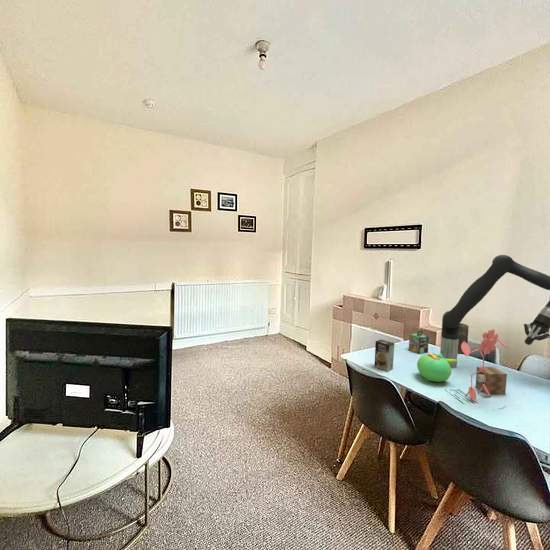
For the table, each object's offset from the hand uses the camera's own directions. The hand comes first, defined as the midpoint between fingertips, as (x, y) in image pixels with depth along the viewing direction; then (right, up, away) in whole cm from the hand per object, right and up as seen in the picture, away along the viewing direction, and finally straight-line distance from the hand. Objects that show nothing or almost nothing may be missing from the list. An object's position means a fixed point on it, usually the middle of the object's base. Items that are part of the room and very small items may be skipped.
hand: (526, 343), depth 168 cm
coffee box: (-69, -19, +21) cm, 75 cm away
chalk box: (-35, -16, +51) cm, 64 cm away
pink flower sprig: (-34, -23, -18) cm, 45 cm away
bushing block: (-24, -22, -7) cm, 34 cm away
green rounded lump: (-47, -21, +6) cm, 51 cm away
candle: (-6, -17, +50) cm, 53 cm away
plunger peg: (-24, -19, -7) cm, 32 cm away
